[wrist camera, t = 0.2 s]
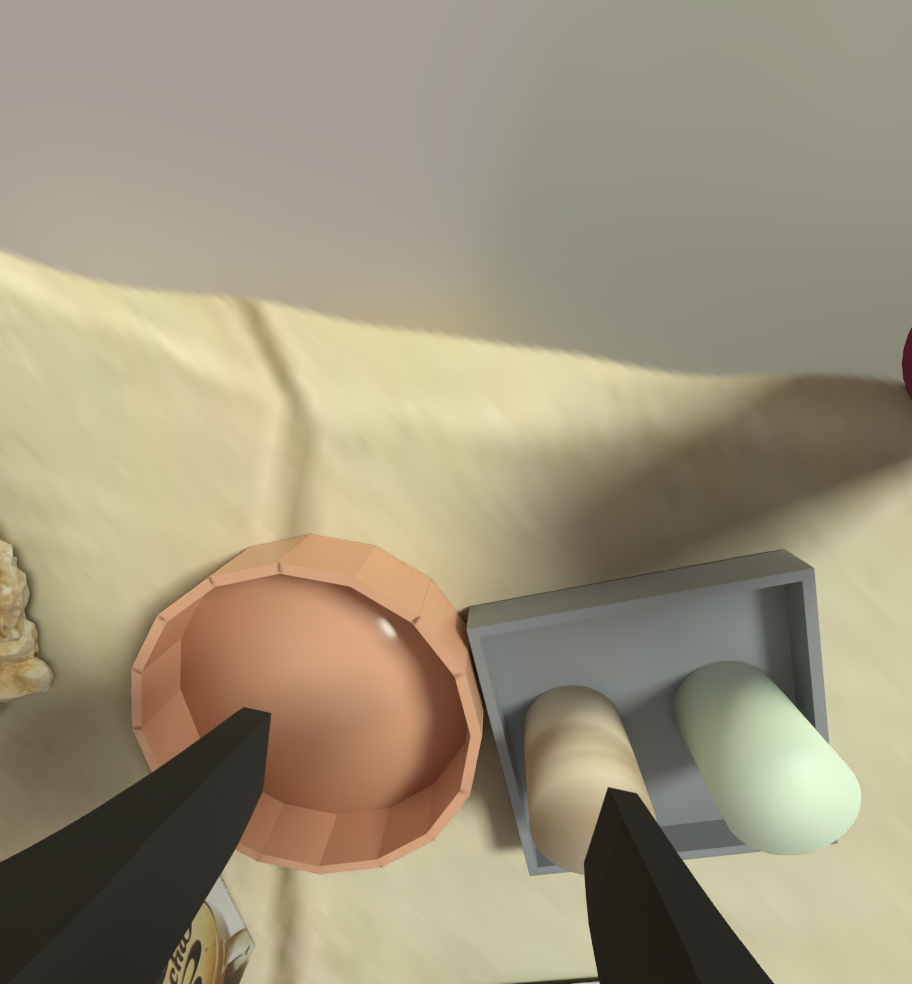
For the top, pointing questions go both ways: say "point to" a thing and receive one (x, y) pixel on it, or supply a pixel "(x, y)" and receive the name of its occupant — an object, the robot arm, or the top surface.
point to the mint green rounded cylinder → (764, 760)
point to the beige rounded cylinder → (574, 769)
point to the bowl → (322, 697)
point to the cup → (908, 363)
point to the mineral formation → (18, 635)
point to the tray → (650, 671)
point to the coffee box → (211, 945)
